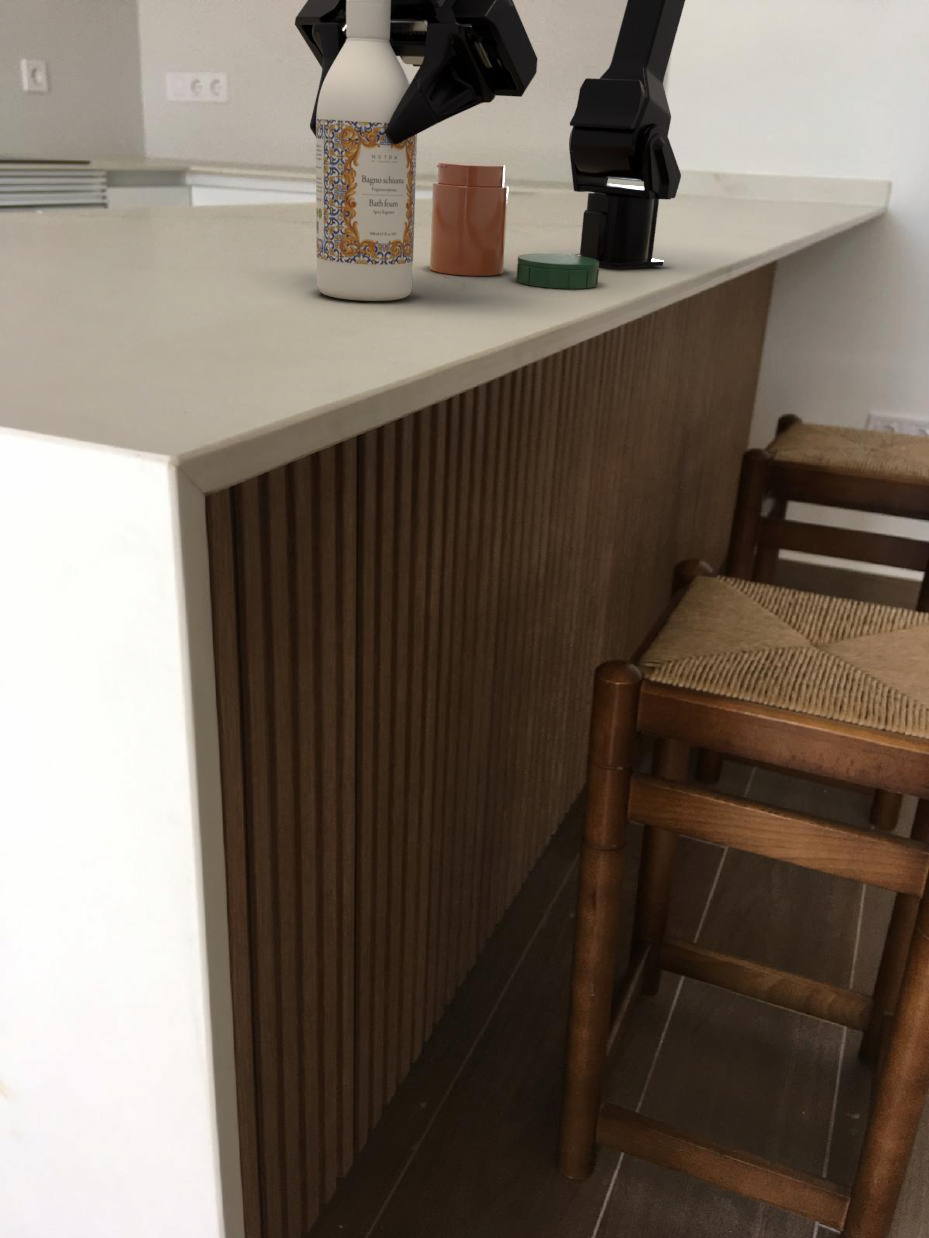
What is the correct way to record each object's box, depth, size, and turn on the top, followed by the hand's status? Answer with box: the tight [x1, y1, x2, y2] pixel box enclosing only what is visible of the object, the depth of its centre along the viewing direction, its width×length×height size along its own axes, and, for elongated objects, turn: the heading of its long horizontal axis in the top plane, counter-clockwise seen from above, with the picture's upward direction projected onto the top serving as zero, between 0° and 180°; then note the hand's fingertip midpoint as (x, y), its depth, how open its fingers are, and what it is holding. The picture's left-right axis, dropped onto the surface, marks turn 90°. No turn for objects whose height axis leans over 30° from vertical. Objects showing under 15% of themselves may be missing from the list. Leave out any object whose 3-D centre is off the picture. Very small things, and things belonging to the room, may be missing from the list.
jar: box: [429, 161, 509, 277], centre depth 92 cm, size 6×6×9 cm
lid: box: [515, 253, 600, 290], centre depth 89 cm, size 7×7×2 cm
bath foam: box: [315, 0, 418, 302], centre depth 74 cm, size 7×7×20 cm
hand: (350, 136), depth 73 cm, fingers closed on bath foam, 7 cm apart
